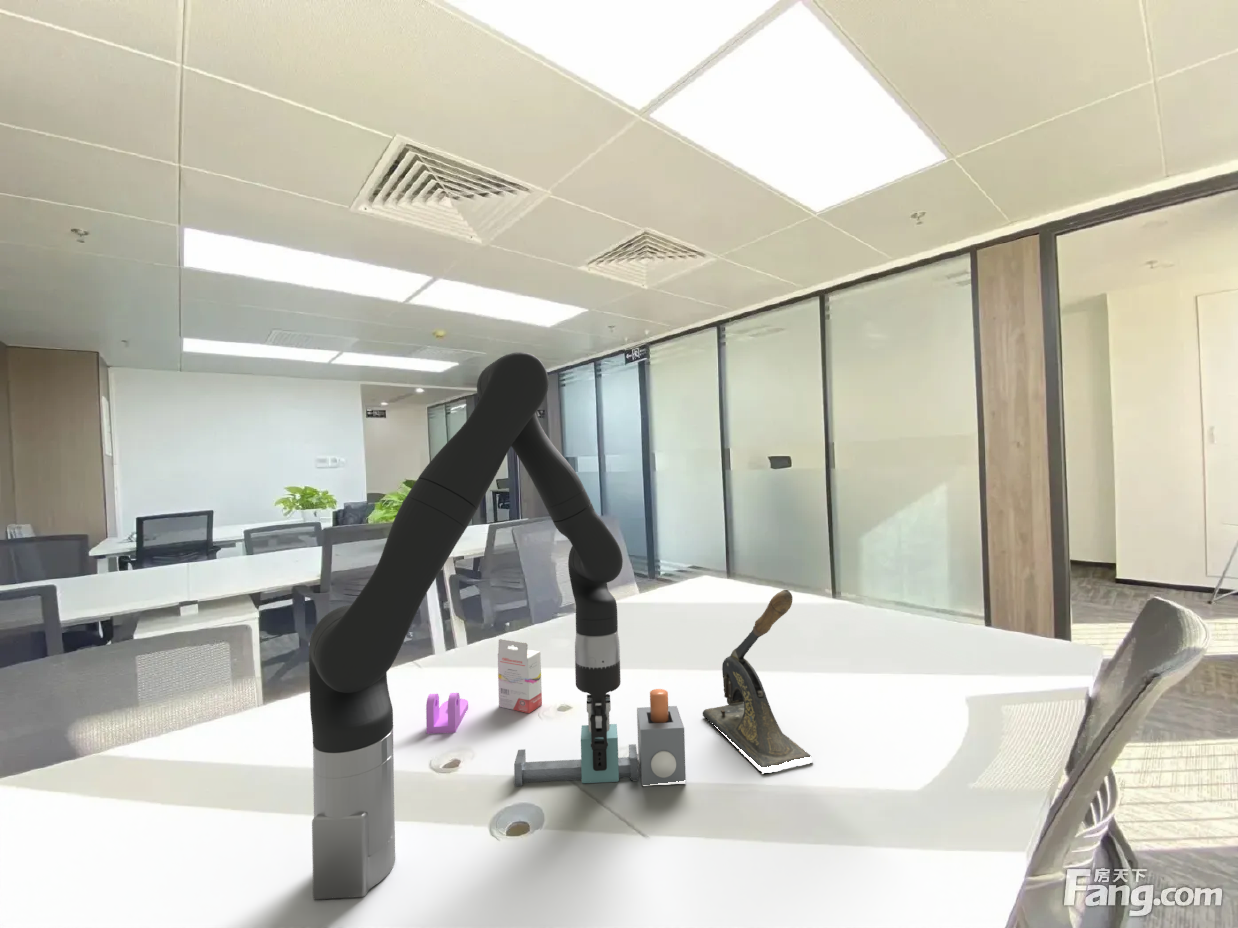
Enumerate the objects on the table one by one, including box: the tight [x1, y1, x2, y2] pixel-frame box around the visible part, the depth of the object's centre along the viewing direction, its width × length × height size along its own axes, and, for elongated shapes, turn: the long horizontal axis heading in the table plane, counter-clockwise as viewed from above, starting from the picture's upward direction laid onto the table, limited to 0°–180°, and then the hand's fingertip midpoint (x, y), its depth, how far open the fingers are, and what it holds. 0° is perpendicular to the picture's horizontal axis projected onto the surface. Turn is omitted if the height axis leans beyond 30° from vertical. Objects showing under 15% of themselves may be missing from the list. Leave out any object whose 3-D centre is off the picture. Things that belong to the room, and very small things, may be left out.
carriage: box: [580, 723, 620, 784], centre depth 88 cm, size 5×6×7 cm
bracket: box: [425, 692, 469, 735], centre depth 110 cm, size 13×6×7 cm, turn 3°
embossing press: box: [702, 589, 811, 767], centre depth 98 cm, size 11×24×30 cm, turn 15°
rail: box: [513, 743, 639, 787], centre depth 87 cm, size 4×20×4 cm, turn 92°
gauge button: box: [649, 688, 669, 723], centre depth 88 cm, size 3×3×4 cm
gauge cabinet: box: [636, 705, 687, 786], centre depth 88 cm, size 8×7×9 cm
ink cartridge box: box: [497, 638, 543, 714], centre depth 115 cm, size 9×5×15 cm, turn 62°
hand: (599, 759), depth 88 cm, fingers closed on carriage, 4 cm apart
